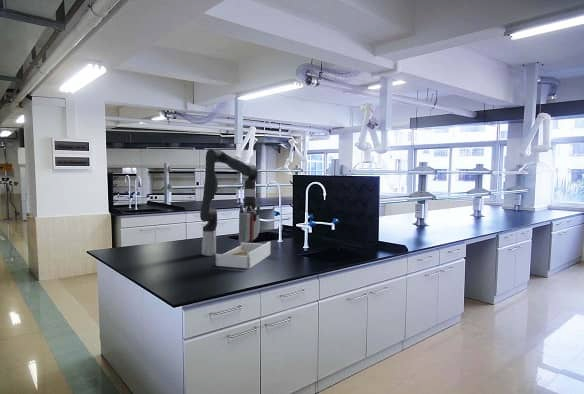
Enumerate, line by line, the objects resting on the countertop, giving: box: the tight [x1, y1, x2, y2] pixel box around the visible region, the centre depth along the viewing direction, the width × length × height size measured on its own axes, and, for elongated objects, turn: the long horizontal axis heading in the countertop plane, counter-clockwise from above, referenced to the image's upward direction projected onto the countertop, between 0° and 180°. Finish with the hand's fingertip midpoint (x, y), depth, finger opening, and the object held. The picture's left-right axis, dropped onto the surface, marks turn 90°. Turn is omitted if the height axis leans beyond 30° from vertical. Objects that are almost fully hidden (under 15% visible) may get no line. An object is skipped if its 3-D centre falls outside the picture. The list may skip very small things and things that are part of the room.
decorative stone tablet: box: [238, 211, 261, 243], centre depth 244 cm, size 19×6×30 cm
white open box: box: [215, 241, 272, 269], centre depth 246 cm, size 22×40×10 cm, turn 165°
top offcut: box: [230, 250, 250, 256], centre depth 248 cm, size 6×15×2 cm, turn 156°
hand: (249, 221), depth 243 cm, fingers closed on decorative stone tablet, 6 cm apart
